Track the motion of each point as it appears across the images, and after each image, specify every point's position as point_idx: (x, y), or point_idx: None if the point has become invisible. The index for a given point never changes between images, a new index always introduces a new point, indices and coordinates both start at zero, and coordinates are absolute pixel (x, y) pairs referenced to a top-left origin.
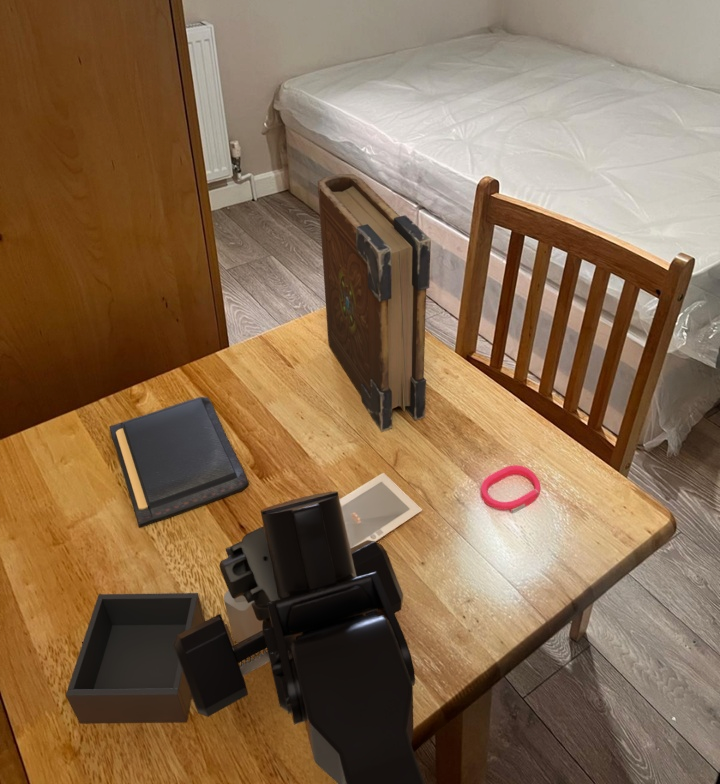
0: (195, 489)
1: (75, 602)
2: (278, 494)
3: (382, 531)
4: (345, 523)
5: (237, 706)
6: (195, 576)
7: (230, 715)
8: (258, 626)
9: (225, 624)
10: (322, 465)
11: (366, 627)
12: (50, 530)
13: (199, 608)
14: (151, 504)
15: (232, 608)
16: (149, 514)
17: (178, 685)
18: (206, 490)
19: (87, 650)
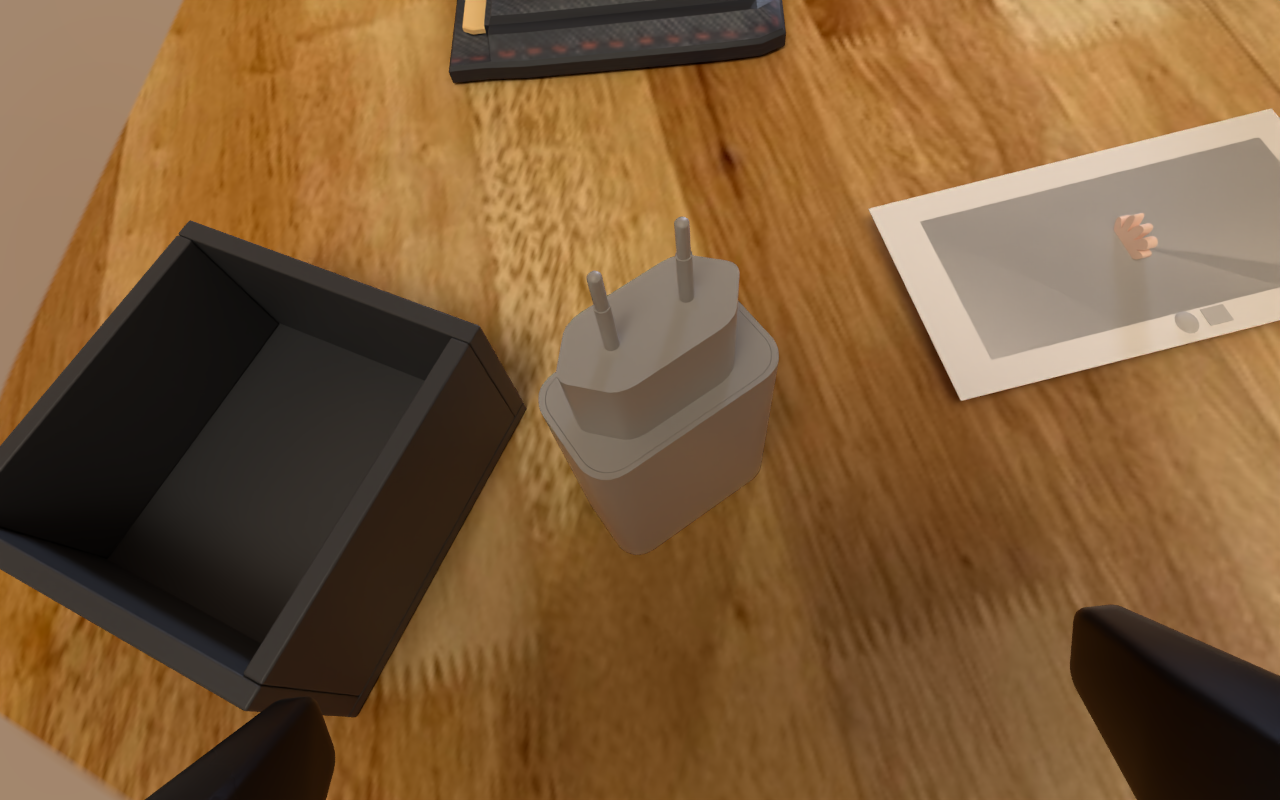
0: (625, 12)
1: (233, 228)
2: (866, 94)
3: (1230, 314)
4: (1084, 243)
5: (524, 740)
6: (547, 260)
7: (492, 762)
8: (668, 512)
9: (240, 765)
10: (1033, 42)
11: None
12: (258, 35)
13: (485, 376)
14: (495, 23)
15: (563, 446)
16: (484, 51)
17: (264, 674)
18: (655, 23)
19: (79, 393)
